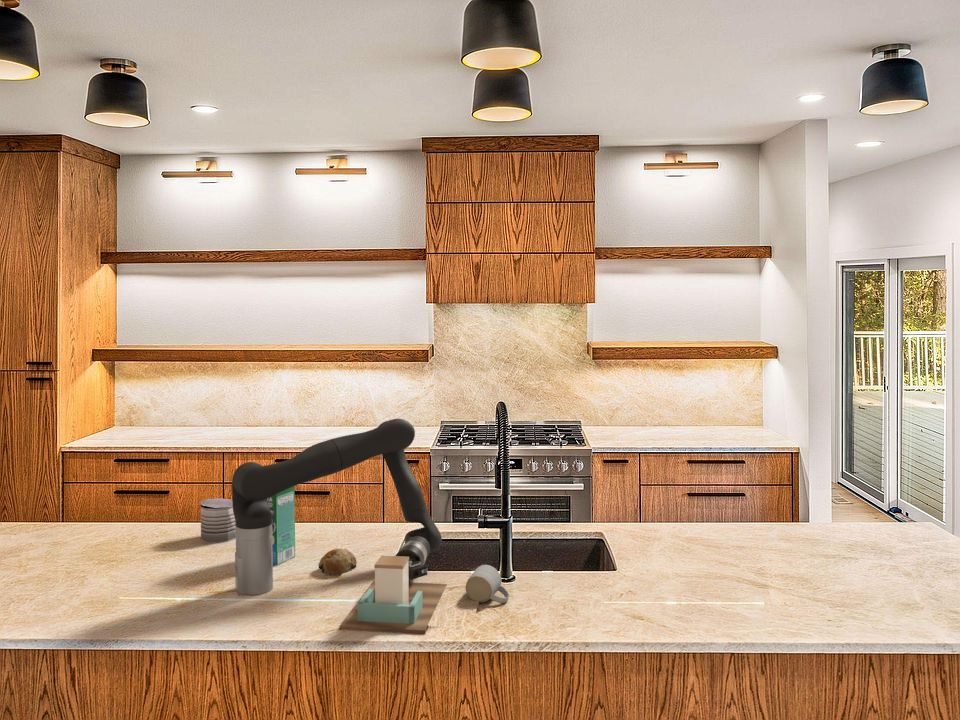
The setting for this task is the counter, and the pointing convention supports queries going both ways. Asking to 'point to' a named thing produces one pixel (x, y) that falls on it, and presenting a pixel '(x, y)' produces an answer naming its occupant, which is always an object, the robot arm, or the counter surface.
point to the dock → (389, 609)
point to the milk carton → (283, 525)
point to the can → (217, 521)
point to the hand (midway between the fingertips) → (395, 580)
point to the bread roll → (337, 562)
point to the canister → (392, 580)
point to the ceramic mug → (485, 585)
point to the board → (430, 602)
